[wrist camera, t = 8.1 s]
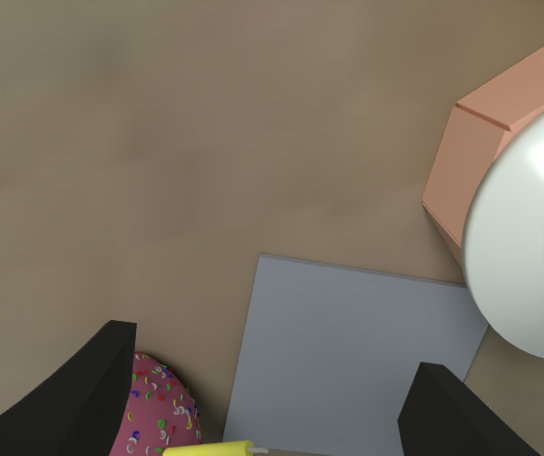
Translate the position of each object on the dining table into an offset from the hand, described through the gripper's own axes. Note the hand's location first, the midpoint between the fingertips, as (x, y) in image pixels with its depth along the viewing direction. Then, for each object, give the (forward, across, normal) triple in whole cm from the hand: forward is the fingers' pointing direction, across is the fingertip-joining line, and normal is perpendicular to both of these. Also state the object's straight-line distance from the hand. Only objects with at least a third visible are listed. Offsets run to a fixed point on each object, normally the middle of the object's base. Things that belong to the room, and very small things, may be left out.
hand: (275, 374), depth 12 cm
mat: (+10, -6, +8) cm, 14 cm away
